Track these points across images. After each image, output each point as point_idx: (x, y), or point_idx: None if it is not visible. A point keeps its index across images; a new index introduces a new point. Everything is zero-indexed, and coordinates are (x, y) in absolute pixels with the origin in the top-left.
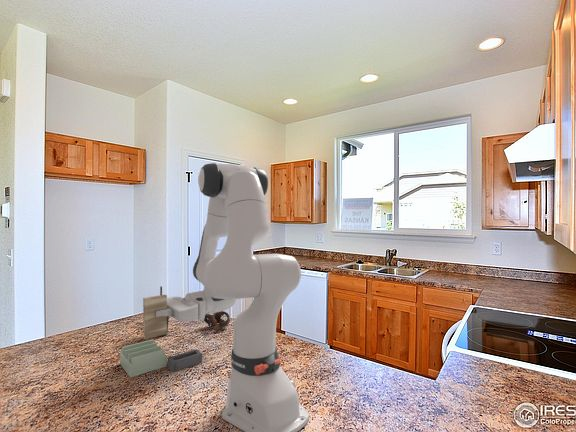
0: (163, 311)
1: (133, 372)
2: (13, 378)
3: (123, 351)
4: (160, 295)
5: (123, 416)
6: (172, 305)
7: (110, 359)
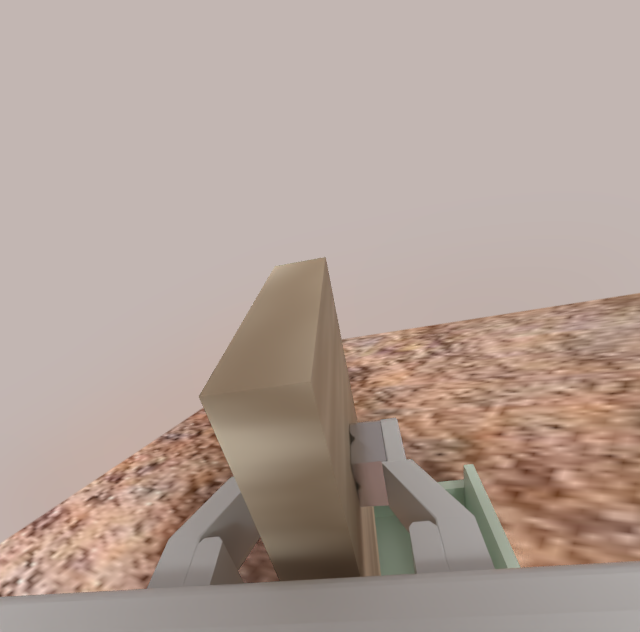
0: (222, 498)
1: None
2: (481, 324)
3: (466, 483)
4: (300, 333)
5: (140, 475)
6: (173, 629)
7: (542, 483)
